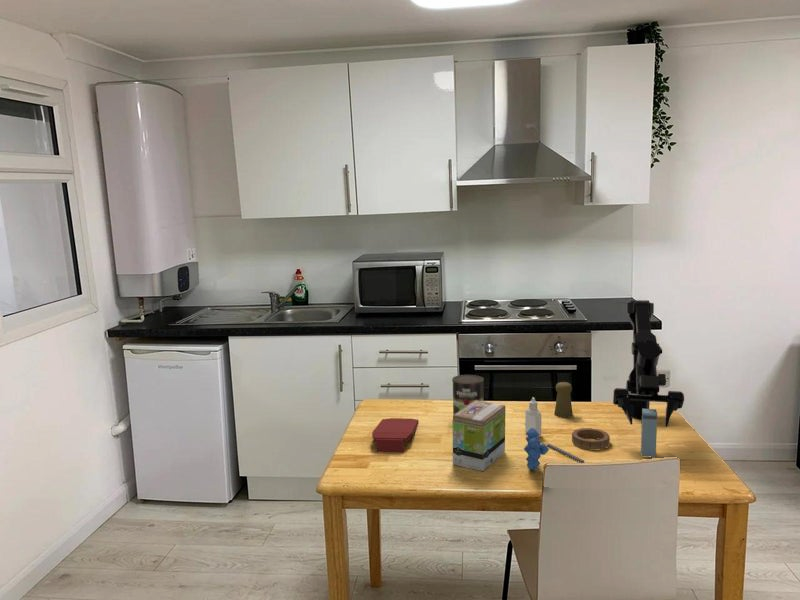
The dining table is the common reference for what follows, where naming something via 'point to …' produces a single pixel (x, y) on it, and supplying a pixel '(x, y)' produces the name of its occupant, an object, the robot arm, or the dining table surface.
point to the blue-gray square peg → (649, 432)
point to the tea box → (478, 435)
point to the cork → (563, 400)
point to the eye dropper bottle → (533, 417)
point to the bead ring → (590, 444)
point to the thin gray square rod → (564, 452)
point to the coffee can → (466, 391)
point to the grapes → (534, 449)
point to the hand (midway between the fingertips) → (649, 425)
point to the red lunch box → (393, 434)
